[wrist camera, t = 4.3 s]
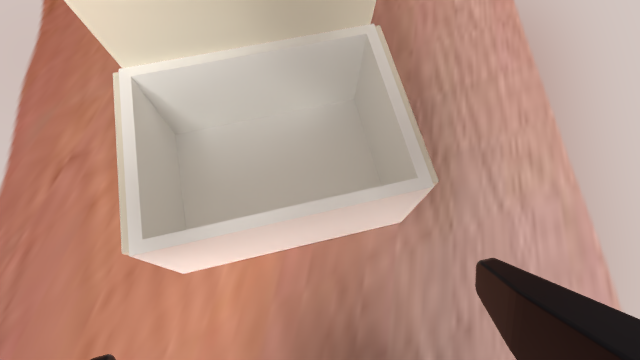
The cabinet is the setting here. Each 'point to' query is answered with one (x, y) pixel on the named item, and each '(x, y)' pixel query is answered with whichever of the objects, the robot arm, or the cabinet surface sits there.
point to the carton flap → (209, 24)
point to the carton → (265, 149)
